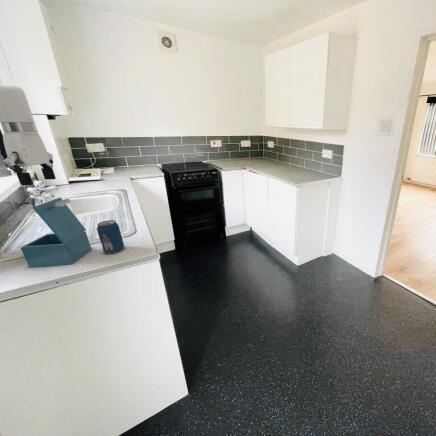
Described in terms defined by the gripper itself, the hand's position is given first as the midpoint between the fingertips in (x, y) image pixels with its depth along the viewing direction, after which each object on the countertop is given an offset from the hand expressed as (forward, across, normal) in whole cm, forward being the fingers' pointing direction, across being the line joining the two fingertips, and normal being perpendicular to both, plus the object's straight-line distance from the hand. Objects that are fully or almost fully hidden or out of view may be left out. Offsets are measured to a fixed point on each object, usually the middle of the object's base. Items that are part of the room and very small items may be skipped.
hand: (39, 182), depth 83 cm
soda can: (+29, -3, +16) cm, 33 cm away
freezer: (+29, 0, -1) cm, 29 cm away
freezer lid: (+14, 0, +2) cm, 14 cm away
